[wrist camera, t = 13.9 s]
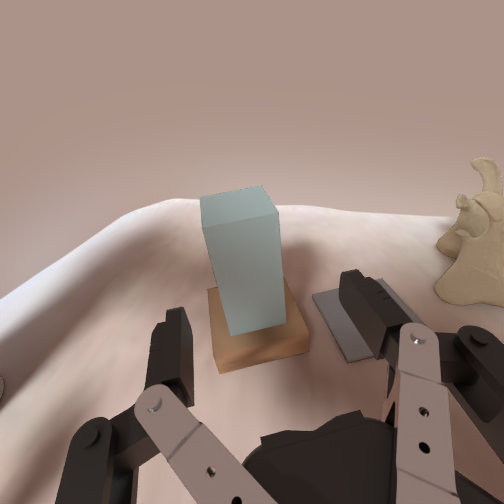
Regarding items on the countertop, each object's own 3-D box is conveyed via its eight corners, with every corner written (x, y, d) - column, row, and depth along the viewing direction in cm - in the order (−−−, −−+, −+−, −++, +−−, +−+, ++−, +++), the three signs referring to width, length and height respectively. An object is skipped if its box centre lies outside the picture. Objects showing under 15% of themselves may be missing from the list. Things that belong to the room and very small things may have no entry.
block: (230, 336, 25) (202, 227, 19) (224, 296, 30) (199, 197, 23) (286, 323, 26) (278, 212, 19) (272, 286, 30) (261, 185, 24)
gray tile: (348, 362, 25) (348, 360, 25) (312, 297, 32) (312, 294, 32) (436, 340, 26) (437, 337, 26) (381, 280, 33) (382, 278, 33)
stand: (219, 374, 26) (213, 355, 24) (212, 306, 33) (207, 289, 31) (309, 351, 27) (309, 332, 25) (283, 290, 34) (281, 272, 32)
